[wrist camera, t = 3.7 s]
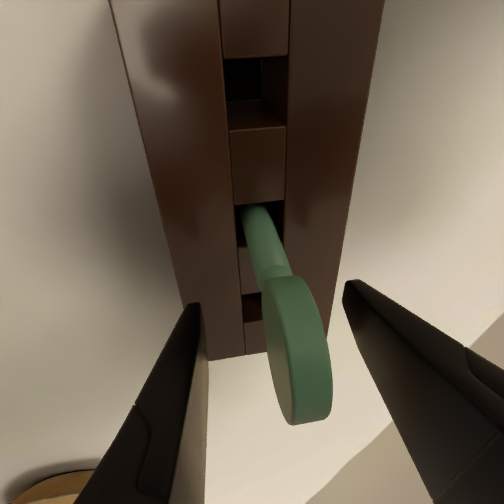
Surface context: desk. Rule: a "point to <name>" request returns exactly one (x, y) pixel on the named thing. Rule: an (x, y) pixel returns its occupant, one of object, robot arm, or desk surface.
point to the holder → (249, 141)
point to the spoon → (288, 324)
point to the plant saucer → (56, 489)
